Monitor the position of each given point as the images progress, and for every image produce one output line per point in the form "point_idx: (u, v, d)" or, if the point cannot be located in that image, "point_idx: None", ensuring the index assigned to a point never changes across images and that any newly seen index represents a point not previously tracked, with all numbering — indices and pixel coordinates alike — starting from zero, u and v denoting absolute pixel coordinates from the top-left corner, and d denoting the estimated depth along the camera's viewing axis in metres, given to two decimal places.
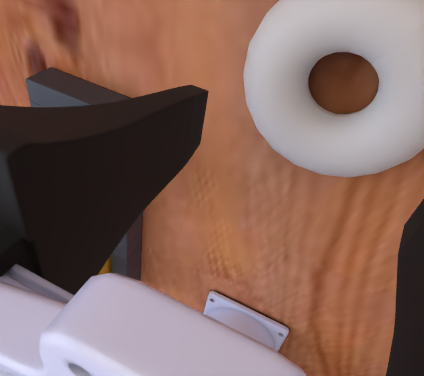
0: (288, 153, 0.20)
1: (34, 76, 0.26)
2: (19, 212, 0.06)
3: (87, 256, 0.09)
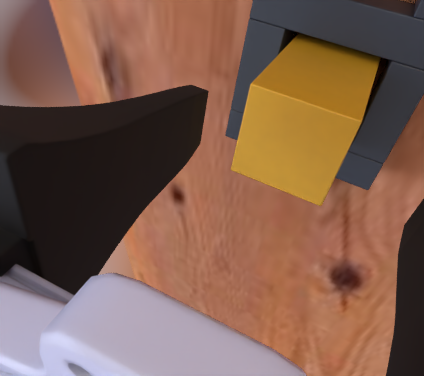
0: None
1: None
2: (19, 212, 0.06)
3: (87, 256, 0.09)
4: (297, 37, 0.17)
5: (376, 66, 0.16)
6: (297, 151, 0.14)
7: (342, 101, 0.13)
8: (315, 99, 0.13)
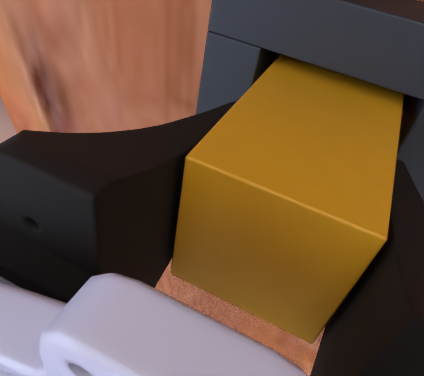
0: None
1: None
2: (97, 251, 0.06)
3: None
4: (280, 60, 0.12)
5: (400, 108, 0.10)
6: (270, 266, 0.08)
7: (351, 189, 0.07)
8: (301, 188, 0.07)
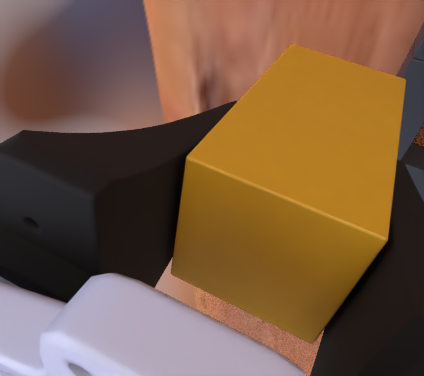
0: None
1: None
2: (97, 250, 0.06)
3: None
4: (280, 60, 0.12)
5: (400, 108, 0.10)
6: (271, 267, 0.08)
7: (351, 190, 0.07)
8: (301, 188, 0.07)
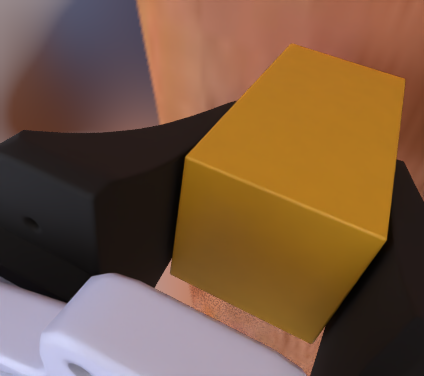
0: None
1: None
2: (97, 251, 0.06)
3: None
4: (279, 60, 0.12)
5: (400, 108, 0.10)
6: (270, 267, 0.08)
7: (350, 189, 0.07)
8: (300, 188, 0.07)
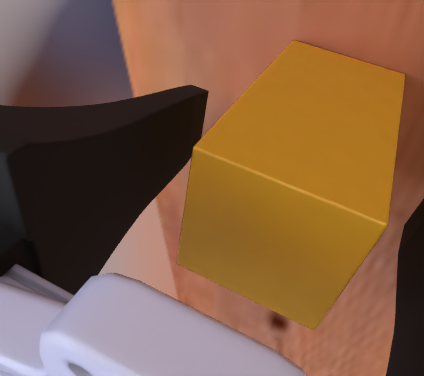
0: None
1: None
2: (20, 212, 0.06)
3: (87, 256, 0.09)
4: (282, 55, 0.12)
5: (400, 102, 0.11)
6: (274, 254, 0.08)
7: (352, 178, 0.08)
8: (304, 176, 0.07)
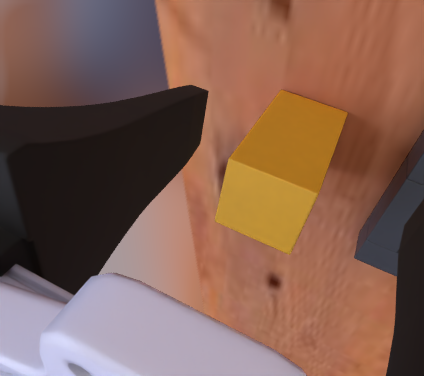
0: None
1: None
2: (20, 211, 0.06)
3: (87, 256, 0.09)
4: (273, 102, 0.20)
5: (339, 131, 0.19)
6: (268, 212, 0.17)
7: (305, 173, 0.16)
8: (281, 172, 0.16)
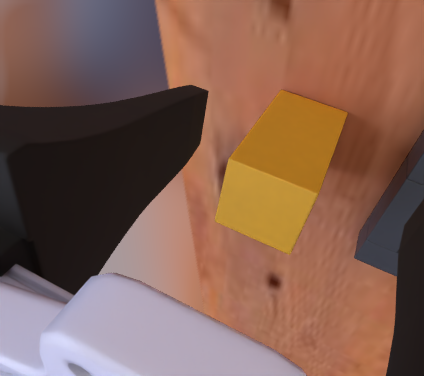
0: None
1: None
2: (20, 211, 0.06)
3: (87, 256, 0.09)
4: (273, 102, 0.20)
5: (339, 131, 0.19)
6: (268, 212, 0.17)
7: (305, 173, 0.16)
8: (282, 173, 0.16)
